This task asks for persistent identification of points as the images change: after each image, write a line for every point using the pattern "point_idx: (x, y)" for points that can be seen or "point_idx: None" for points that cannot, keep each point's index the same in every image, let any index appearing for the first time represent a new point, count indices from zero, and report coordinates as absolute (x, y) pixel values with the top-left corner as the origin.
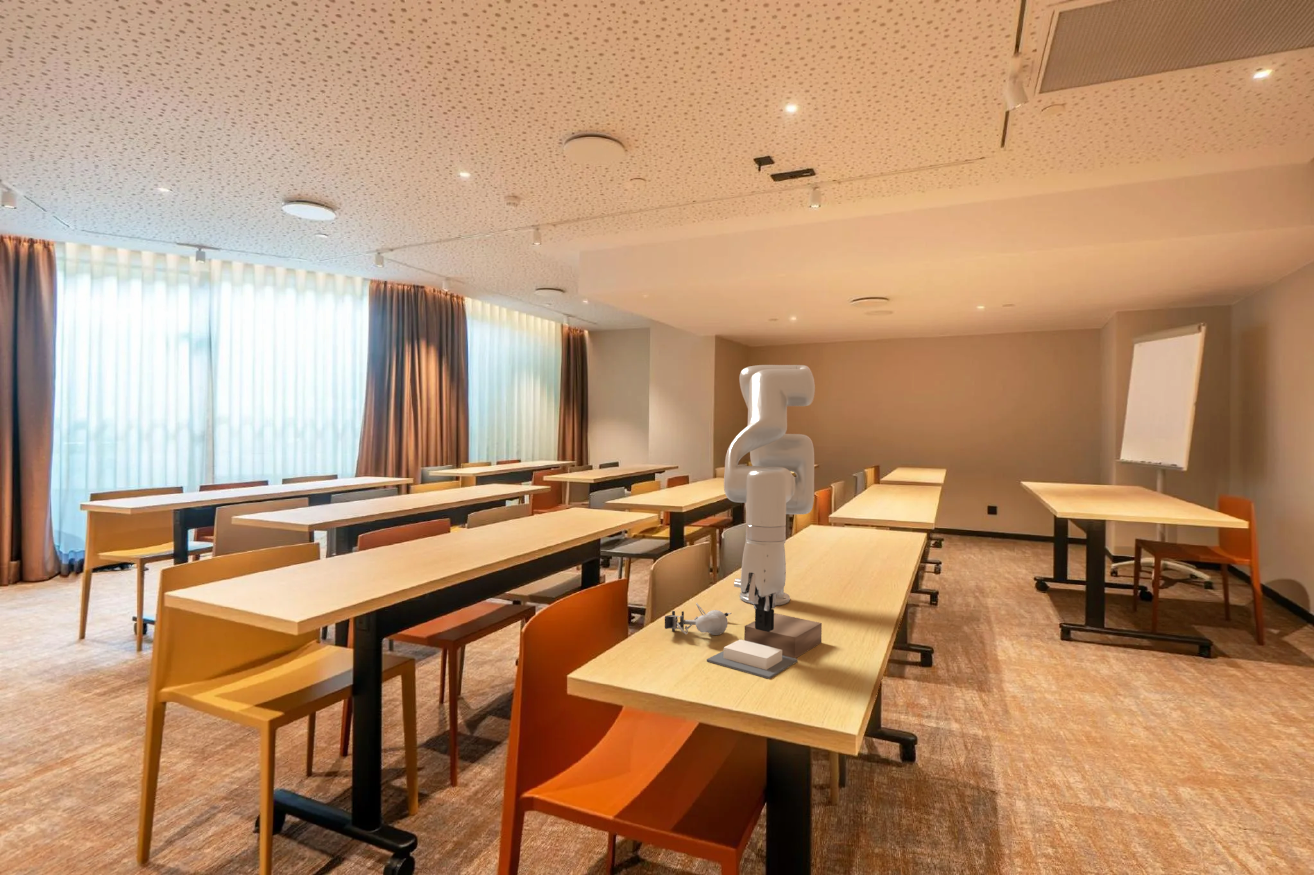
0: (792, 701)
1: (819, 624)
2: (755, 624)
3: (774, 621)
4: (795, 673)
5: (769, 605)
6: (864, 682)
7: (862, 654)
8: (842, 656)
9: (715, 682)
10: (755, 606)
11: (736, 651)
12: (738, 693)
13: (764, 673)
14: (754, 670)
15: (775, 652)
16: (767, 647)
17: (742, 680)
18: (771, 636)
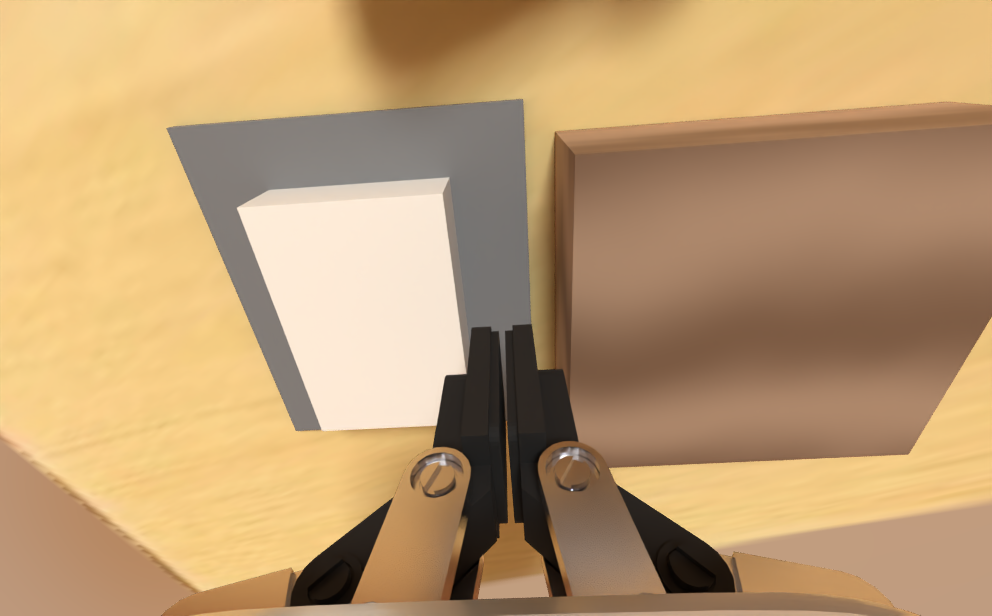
0: (239, 521)
1: (876, 454)
2: (471, 343)
3: (819, 261)
4: (421, 452)
5: (534, 546)
6: (513, 571)
7: (754, 509)
8: (694, 481)
9: (77, 317)
10: (385, 505)
11: (270, 291)
12: (114, 416)
13: (302, 409)
14: (291, 372)
15: (418, 420)
16: (446, 370)
17: (200, 372)
18: (566, 344)
